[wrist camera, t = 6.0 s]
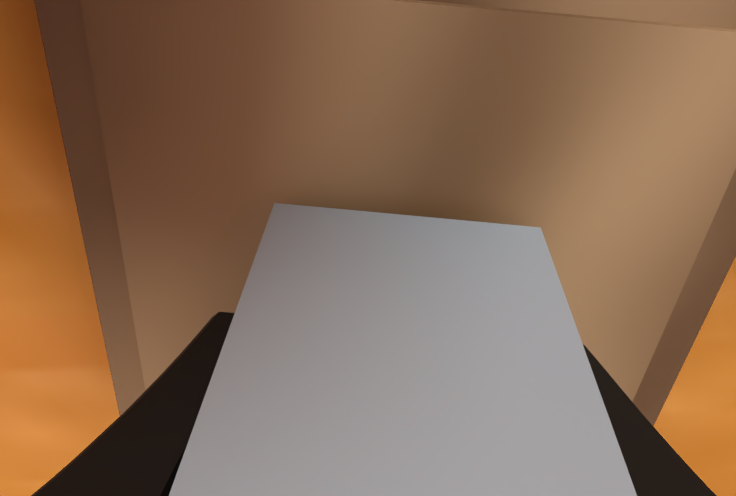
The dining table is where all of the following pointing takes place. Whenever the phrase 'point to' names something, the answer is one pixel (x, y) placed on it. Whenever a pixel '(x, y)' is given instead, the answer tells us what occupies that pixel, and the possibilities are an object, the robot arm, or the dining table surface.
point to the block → (401, 368)
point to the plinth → (402, 151)
